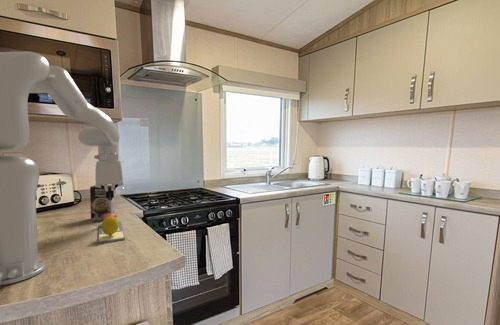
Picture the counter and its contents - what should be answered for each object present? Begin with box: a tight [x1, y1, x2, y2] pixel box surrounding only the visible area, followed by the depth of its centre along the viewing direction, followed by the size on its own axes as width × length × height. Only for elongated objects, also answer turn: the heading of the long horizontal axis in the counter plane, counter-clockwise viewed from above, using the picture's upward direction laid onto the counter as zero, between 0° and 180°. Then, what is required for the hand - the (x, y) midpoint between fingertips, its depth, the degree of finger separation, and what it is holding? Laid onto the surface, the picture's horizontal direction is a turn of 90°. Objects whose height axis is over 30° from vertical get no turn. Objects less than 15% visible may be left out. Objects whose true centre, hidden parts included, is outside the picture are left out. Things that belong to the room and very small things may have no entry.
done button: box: [104, 212, 118, 219], centre depth 109 cm, size 5×5×2 cm
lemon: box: [101, 215, 119, 236], centre depth 94 cm, size 6×6×8 cm
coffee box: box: [89, 184, 116, 222], centre depth 121 cm, size 9×6×16 cm
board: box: [97, 220, 126, 245], centre depth 101 cm, size 26×8×2 cm, turn 30°
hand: (110, 199), depth 109 cm, fingers closed
